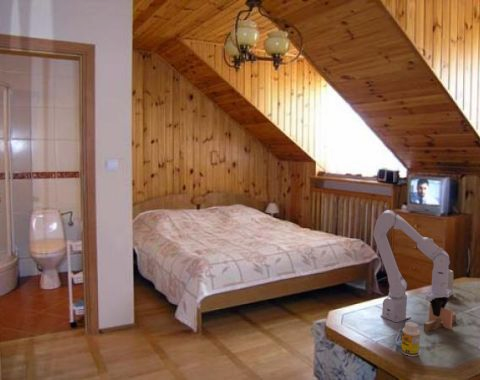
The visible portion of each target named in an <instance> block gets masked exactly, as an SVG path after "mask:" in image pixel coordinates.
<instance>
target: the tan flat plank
mask: <svg viewBox="0 0 480 380" xmlns="http://www.w3.org/2000/svg"><path fill="white" fill-rule="evenodd" d="M453 313H454V311H453V310H451V309H448V308H442V307H441V311H440V315H439V316H435V315H433V310H432V306H431V303H429V313H428V322H430V321H432V320H435V319H438V318H439V319H441V322H443V326H442V327H443V328H445V329H448V330H451V329H452V328H453V323H452V319H453Z"/></svg>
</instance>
